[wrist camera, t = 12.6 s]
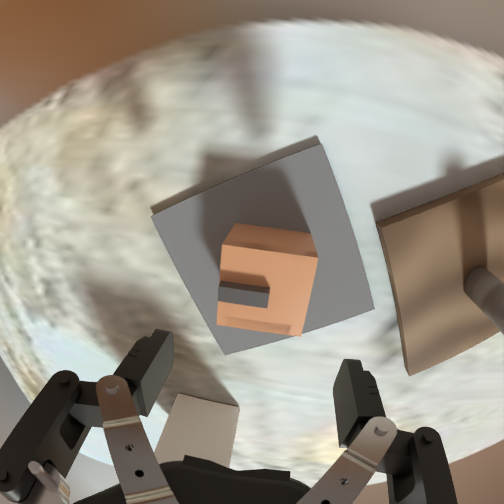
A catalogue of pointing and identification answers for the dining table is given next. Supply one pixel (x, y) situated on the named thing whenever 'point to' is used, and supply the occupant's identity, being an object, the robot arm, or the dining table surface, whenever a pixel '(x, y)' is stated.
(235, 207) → the mat
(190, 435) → the milk carton
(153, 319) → the dining table surface
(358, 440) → the robot arm
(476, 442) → the dining table surface
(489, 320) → the brown board
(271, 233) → the tan cube with tab
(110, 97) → the dining table surface
